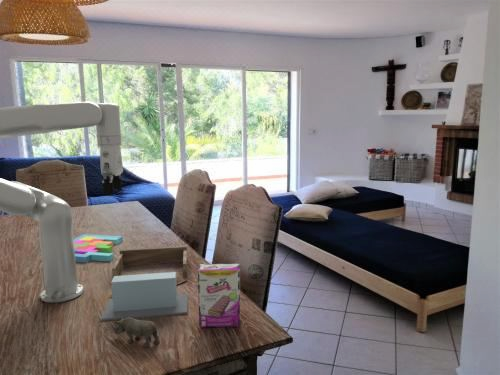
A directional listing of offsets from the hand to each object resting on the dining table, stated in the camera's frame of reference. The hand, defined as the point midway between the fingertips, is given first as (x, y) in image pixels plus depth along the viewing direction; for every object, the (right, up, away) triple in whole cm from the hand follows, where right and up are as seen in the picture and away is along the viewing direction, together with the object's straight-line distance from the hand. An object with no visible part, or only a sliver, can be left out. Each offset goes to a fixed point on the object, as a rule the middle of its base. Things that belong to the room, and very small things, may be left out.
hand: (113, 192), depth 135 cm
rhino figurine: (+17, -38, -33) cm, 53 cm away
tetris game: (-21, -26, +37) cm, 50 cm away
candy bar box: (+38, -36, -26) cm, 58 cm away
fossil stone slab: (+13, -32, -3) cm, 35 cm away
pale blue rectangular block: (+15, -34, -16) cm, 40 cm away
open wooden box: (+10, -29, +13) cm, 33 cm away
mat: (+16, -34, -16) cm, 41 cm away
